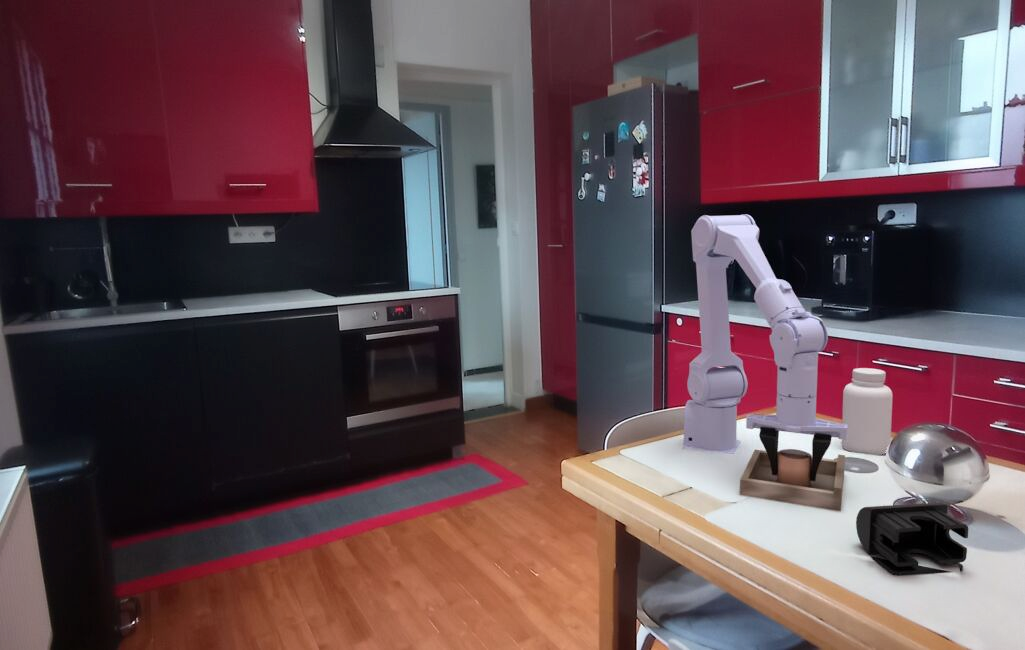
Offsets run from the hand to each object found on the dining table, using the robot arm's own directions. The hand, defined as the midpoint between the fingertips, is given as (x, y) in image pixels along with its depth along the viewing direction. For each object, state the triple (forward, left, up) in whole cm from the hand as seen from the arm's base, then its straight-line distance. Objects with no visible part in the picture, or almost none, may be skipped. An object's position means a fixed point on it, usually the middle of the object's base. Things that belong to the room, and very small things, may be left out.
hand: (793, 476), depth 101 cm
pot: (0, 0, -1) cm, 1 cm away
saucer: (+9, +13, -2) cm, 16 cm away
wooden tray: (0, 0, -2) cm, 2 cm away
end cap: (+15, -17, -2) cm, 23 cm away
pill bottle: (+10, +25, -2) cm, 27 cm away
